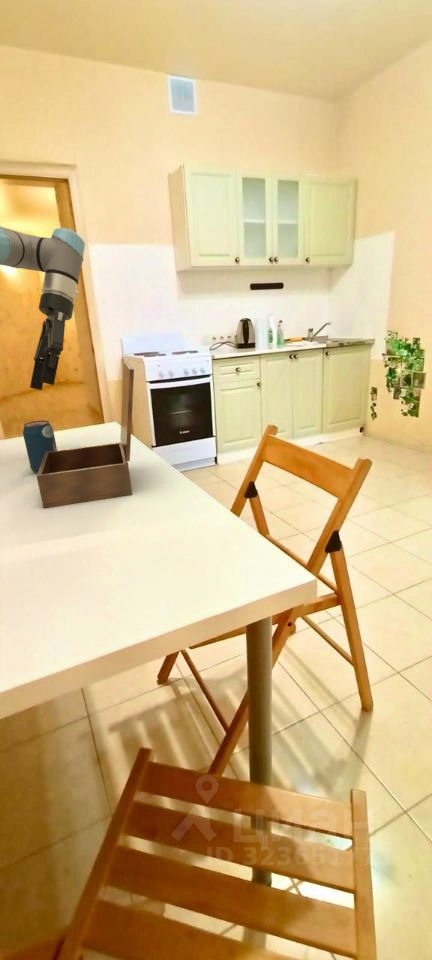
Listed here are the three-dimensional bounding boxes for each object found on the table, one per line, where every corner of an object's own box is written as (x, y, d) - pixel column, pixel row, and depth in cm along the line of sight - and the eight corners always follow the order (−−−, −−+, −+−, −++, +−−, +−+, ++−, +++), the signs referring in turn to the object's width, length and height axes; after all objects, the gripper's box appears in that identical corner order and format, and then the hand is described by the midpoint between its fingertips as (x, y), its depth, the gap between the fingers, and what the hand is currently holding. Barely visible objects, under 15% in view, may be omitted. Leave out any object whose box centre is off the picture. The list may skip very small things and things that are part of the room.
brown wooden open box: (43, 508, 89) (36, 476, 87) (50, 479, 105) (44, 451, 103) (132, 494, 93) (128, 463, 90) (126, 468, 109) (122, 442, 106)
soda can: (65, 468, 112) (56, 421, 108) (40, 476, 107) (29, 427, 103) (51, 463, 117) (42, 418, 112) (26, 471, 112) (15, 424, 108)
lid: (129, 369, 84) (134, 369, 85) (123, 361, 100) (127, 361, 101) (125, 461, 90) (129, 461, 90) (120, 440, 106) (123, 440, 106)
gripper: (88, 290, 97) (70, 385, 97) (61, 316, 118) (46, 394, 118) (53, 276, 93) (34, 375, 93) (32, 305, 114) (16, 386, 114)
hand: (41, 386), depth 106 cm, fingers open, 13 cm apart
